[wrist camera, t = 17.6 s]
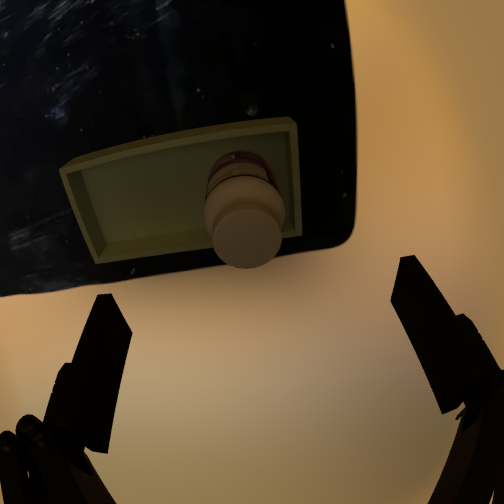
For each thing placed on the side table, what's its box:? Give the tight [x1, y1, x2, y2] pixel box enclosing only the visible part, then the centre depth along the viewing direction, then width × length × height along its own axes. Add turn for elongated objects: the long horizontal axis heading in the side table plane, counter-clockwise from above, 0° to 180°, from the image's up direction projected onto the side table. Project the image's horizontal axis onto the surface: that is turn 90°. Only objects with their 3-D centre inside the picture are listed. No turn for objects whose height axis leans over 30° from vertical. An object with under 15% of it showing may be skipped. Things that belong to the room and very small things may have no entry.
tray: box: [59, 117, 302, 264], centre depth 25 cm, size 19×10×3 cm, turn 96°
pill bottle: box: [203, 150, 285, 269], centre depth 21 cm, size 5×5×10 cm
